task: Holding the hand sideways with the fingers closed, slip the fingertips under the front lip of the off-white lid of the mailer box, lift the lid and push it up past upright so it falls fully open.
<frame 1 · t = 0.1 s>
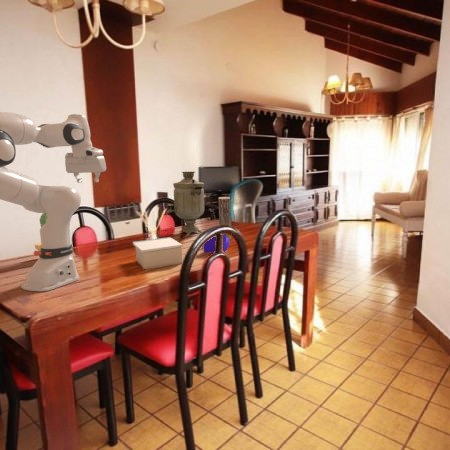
hand: (88, 182, 168), 39 cm above the table, tool pointing down, fingers open, 8 cm apart
bracket: (220, 249, 195), on the table
potted cactus: (53, 259, 186), on the table
lid: (156, 244, 173), point 9 cm above the table, hinge at 0.0°
mailer box: (159, 262, 173), on the table
paper tube: (225, 239, 218), on the table
samovar: (186, 233, 238), on the table
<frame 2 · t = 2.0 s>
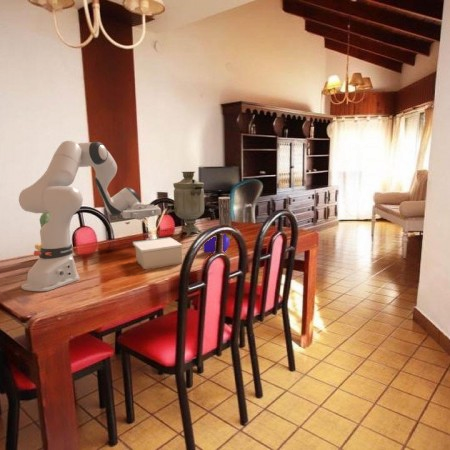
hand: (145, 214, 188), 20 cm above the table, tool horizontal, fingers open, 6 cm apart
nothing on the table moved.
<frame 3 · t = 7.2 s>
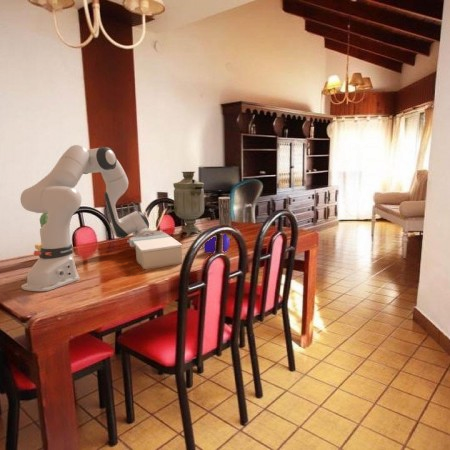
hand: (153, 243, 179), 8 cm above the table, tool horizontal, fingers closed, pressing on lid
lid: (156, 243, 173), point 9 cm above the table, hinge at 2.3°, touching gripper
everything else where it was.
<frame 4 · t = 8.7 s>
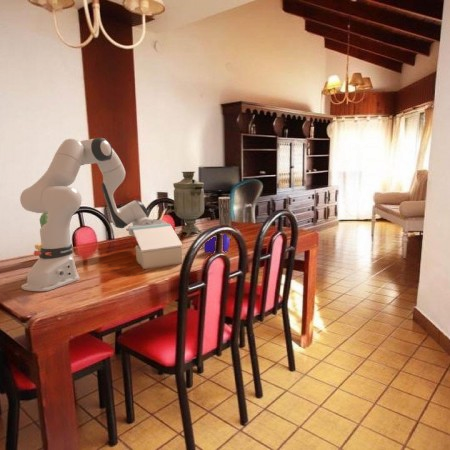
hand: (152, 231, 178), 14 cm above the table, tool horizontal, fingers closed, pressing on lid
lid: (156, 237, 172), point 12 cm above the table, hinge at 22.7°, touching gripper
everything else where it was.
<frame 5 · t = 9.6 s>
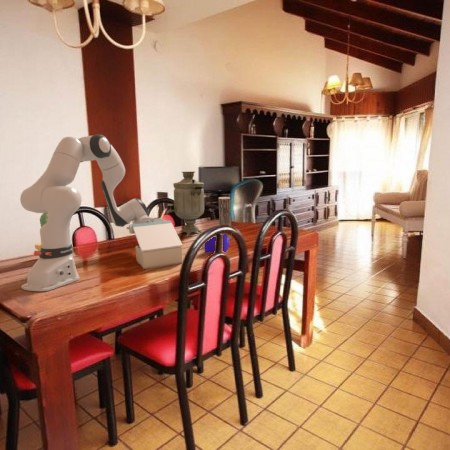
hand: (153, 229, 176), 15 cm above the table, tool horizontal, fingers closed, pressing on lid
lid: (156, 235, 171), point 13 cm above the table, hinge at 28.9°, touching gripper
everything else where it was.
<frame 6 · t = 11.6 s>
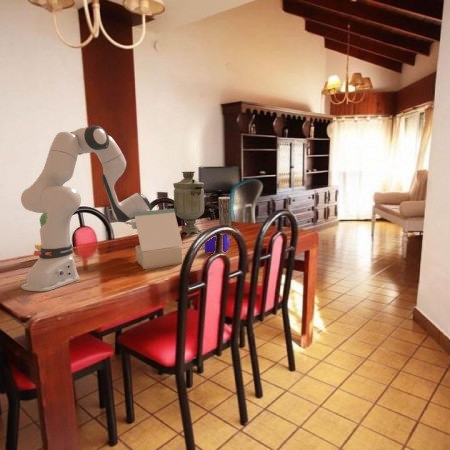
hand: (156, 224, 169), 18 cm above the table, tool horizontal, fingers closed, pressing on lid
lid: (158, 229, 168), point 17 cm above the table, hinge at 57.6°, touching gripper
everything else where it was.
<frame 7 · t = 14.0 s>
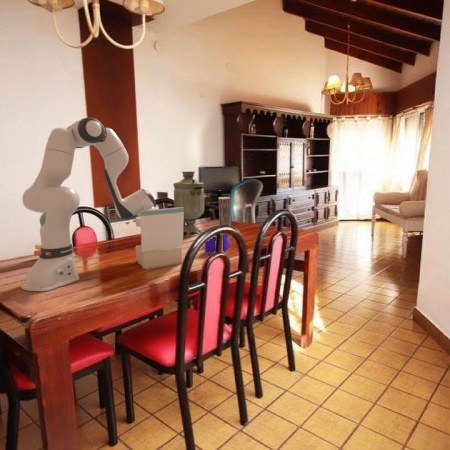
hand: (162, 222, 161), 21 cm above the table, tool horizontal, fingers closed, pressing on lid
lid: (162, 229, 161), point 18 cm above the table, hinge at 103.4°, touching gripper
everything else where it was.
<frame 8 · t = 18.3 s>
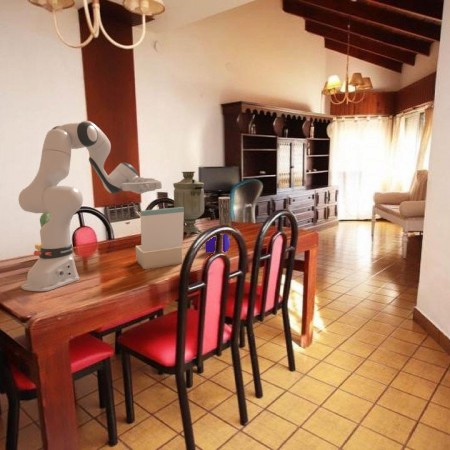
hand: (145, 186, 182), 35 cm above the table, tool horizontal, fingers closed
lid: (162, 229, 161), point 18 cm above the table, hinge at 103.4°
everything else where it was.
at the end: lid at +103° (first picture: +0°) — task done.
